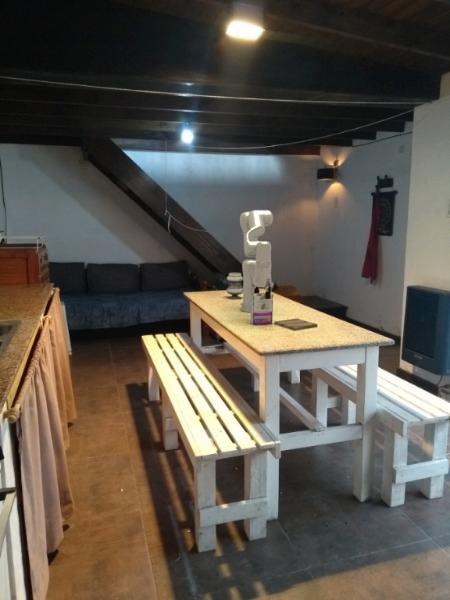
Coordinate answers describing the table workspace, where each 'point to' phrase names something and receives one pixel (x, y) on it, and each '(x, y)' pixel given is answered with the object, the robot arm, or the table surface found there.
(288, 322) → the walnut board
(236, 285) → the apothecary jar
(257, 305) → the candy bar box
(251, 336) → the table surface
